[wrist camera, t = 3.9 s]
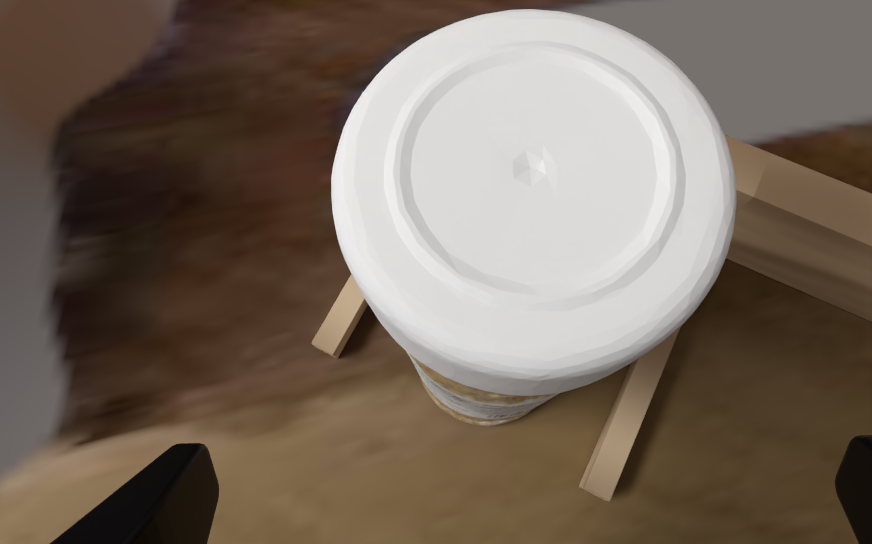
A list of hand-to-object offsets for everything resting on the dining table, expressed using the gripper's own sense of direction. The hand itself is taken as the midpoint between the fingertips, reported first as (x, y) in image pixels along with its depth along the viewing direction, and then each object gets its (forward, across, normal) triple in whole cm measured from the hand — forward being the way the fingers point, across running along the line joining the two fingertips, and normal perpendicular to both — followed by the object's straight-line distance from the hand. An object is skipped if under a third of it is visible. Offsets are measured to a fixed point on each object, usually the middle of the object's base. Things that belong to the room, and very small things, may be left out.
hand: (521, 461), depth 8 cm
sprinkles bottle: (+10, 0, +5) cm, 11 cm away
